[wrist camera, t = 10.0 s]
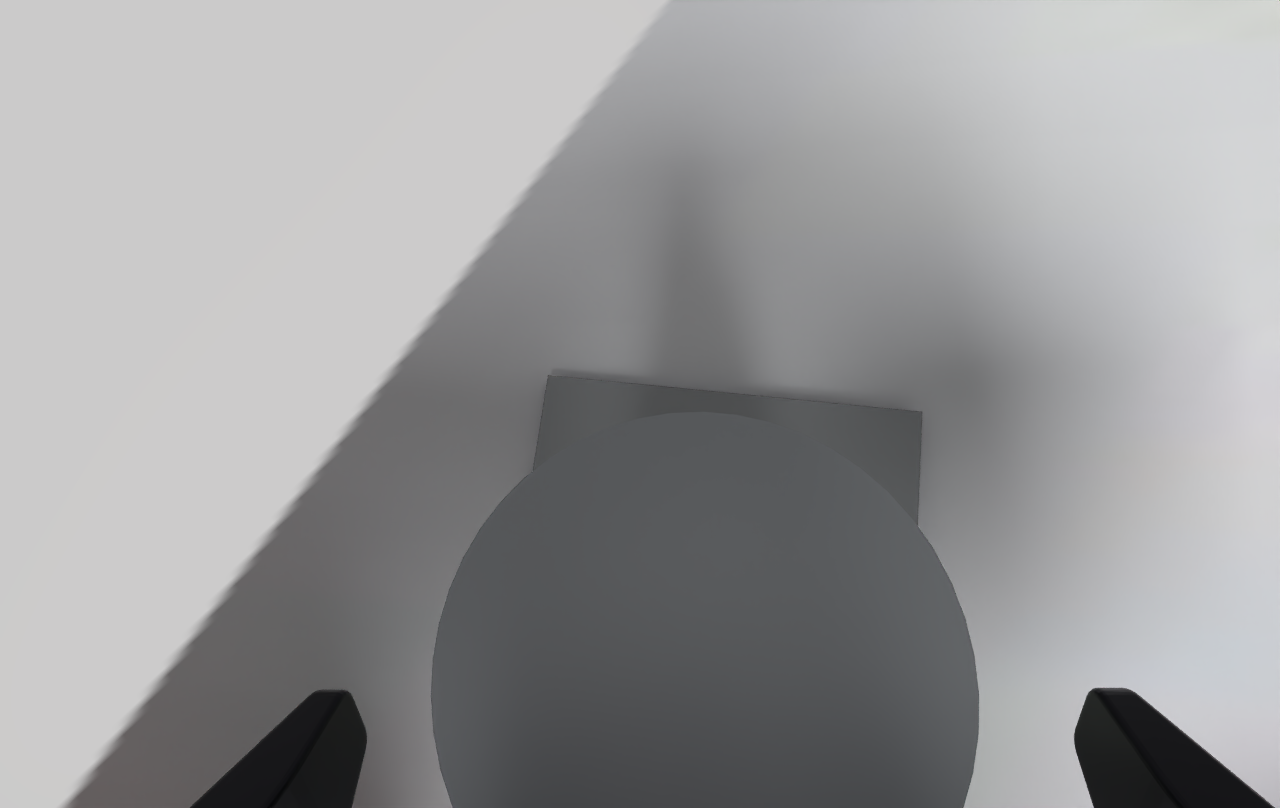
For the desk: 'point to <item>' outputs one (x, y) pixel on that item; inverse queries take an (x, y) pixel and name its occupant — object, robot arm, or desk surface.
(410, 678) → the desk surface
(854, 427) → the charcoal pad
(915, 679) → the tin canister
